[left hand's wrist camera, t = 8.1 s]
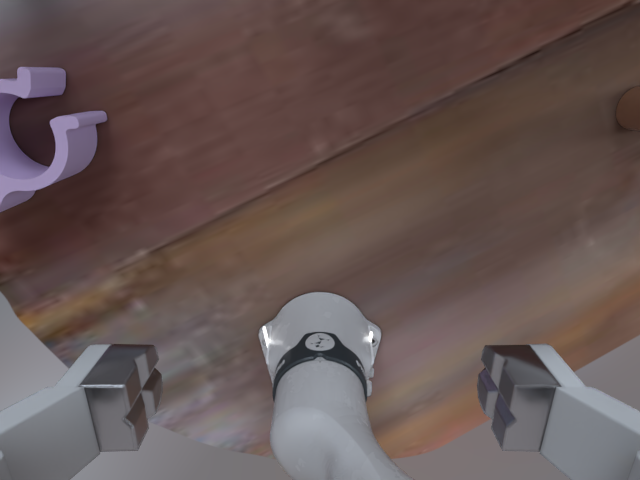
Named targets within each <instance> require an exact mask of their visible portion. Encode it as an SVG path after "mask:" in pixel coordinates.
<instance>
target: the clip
mask: <svg viewBox="0 0 640 480" xmlns="http://www.w3.org/2000/svg"><path fill="white" fill-rule="evenodd" d="M65 87H66V72H65V70H64V69H62V68H51V67H19V68H18V70H17V79H0V212H2V211H5V210H7V209H9V208H11V207H14V206H16V205H18V204H20V203H23V202H25V201H27V200H29V199H30V198H31V197H32V196H33V195H34V193H35V191H36V190H38V189H41V188H44V187H46V186H49V185H51V184H53V183H56V182H58V181H61V180H63V179H65V178H68V177H70V176H73V175H75V174H77V173H79V172H81V171H82V170H83V169H85V168H86V167H87V166H88V165H89V163H90V162H91V160H92V159H93V157H94V154H95V151H96V147H97V130H96V124H98V123H102V122H105V121H106V120H107V115H106V113H105V112H104V111H88V112H82V113H76V114H70V115H64V116H59V117H56V118H54V119H52V120H51V121H50V126H51V128H52V130H53V133H54V137H55V142H56V151H55V157H54V160H53V162H52V164H51V166H50V167H48V166H44V165H41V164H39V163H37V162H35V161H33V160H32V159H30V158H29V157H28V156H27V155H25V154H24V153H23V152H22V151H21V149H20V148H19V147H18V145H17V144H16V142H15V141H14V139H13V136H12V134H11V131H10V126H9V114H10V110H11V107H12V105H13V104H14V102H15V101H16V100H17V98H19V97H21V98H34V97H45V96H56V95H62V94H63V92H64V90H65Z"/></svg>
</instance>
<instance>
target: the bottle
mask: <svg viewBox="0 0 640 480" xmlns="http://www.w3.org/2000/svg"><path fill="white" fill-rule="evenodd" d="M616 118H617V121H618V123H619V124H620V125H621V126H622V127H623V128H625V129H628V130H633V131H638V132H640V86H636V87H634V88H632V89H630V90H629V91H627V92H626V93H625V94H624V95H623V96H622V98H621V99H620V101H619V103H618V105H617V108H616Z"/></svg>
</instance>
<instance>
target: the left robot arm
mask: <svg viewBox="0 0 640 480" xmlns="http://www.w3.org/2000/svg"><path fill="white" fill-rule="evenodd" d="M259 339H260V343H261V346H262V350H263V353H264V356H265V360H266V364H267V367H268V370H269V373H270V377H271V380H272V384H273V385H272V387H273V400H274V409H273V417H272V424H271V432H270V443H271V448H272V451H273V454H274V456H275V458H276V460H277V462H278V463H279V465H280V466H281V468H282V469H283V470H284V472H285V473H286V474H287V475H288V476H289V477H290V478H291V479H292V480H414V479H413V478H412V477H410V476H409V475H408V474H406V473H405V472H404V471H403V470H402V469H401V468H399V467H398V466H397V465H396V464H395V463H394V462H393V461H392V460H391V459H390V457H389V456H388V455H387V454H386V453H385V452H384V450H383V449H382V448H381V447H380V445H379V444H378V442H377V440H376V439H375V437H374V435H373V432H372V429H371V425H370V421H369V417H368V413H367V407H366V400H367V396H368V397H369V396H371V392H372V382H371V381H369V377H370V378H373V375H374V368H372V367H373V364H374V360H375V356H376V353H377V350H378V346H379V343H380V339H381V330H380V328H379V327H378V326H376V325H375V324H373V323H372V322H370V321H368V320H367V319H366V318H365V317H364V316H363V315H362V313H361V312H360V310H359V309H358V308H357V307H356V306H355V305H354V304H353V303H352V302H350V301H349V300H347V299H345V298H344V297H341V296H339V295H336V294H332V293H327V292H314V293H308V294H304V295H301V296H299V297H296V298H295V299H293V300H291V301H290V302H288V303H287V304H286V305H285V306H284V307H283V308H282V309H281V310H280V312H279V313H278V315H277V316H276V317H275V318H274V319H273V320H272V321H270V322H268V323H267V324H265V325H264V326H262V327H261V328H260V330H259ZM268 339H269V340H268ZM372 339H373V341H372ZM158 360H159V357H158V352H157V348H156V347H155V346H154V345H134V344H93V345H90V346H88V347H87V349H86V350H85V351H84V352H83V353H82V354H81V356H80V357H79V358H78V359H77V360H76V361H75V363H74V364H73V365H72V366H71V367H70V368H69V370H68V371H67V372H66V373H65V374H64V376H63V377H62V378H61V379H60V380H59V381H58V383H57V384H56V385H55V386H54V387H46V388H44V389H42V390H40V391H38V392H36V393H34V394H33V395H31V396H29V397H27V398H25V399H23V400H21V401H19V402H17V403H15V404H13V405H11V406H9V407H7V408H5V409H3V410H1V411H0V480H70V479H71V478H72V477H73V476H75V475H76V474H77V473H78V472H79V471H81V470H82V469H83V468H84V467H85V466H86V465H88V464H89V463H90V462H91V461H92V460H93V459H95V458H96V457H97V456H98V455H99V454H100V452H109V451H138V449H139V447H140V445H141V443H142V441H143V439H144V437H145V435H146V433H147V431H148V429H149V426H148V419H149V418H150V417H152V416H153V415H155V414H156V412H157V410H158V408H159V405H160V402H161V397H162V393H163V382H162V375H161V373H160V372H159V371H158V370H157V369H156V368H155V366H156V364H157V362H158ZM481 360H482V362H483V364H484V366H485V368H484V369H483V370H482V371H481V372H480V373H479V375H478V383H477V390H478V398H479V402H480V406H481V408H482V410H483V412H484V414H485V415H487V416H488V417H490V418H491V419H492V426H491V429H492V431H493V433H494V435H495V437H496V439H497V441H498V443H499V445H500V447H501V449H502V451H530V452H540V454H541V455H542V456H543V457H544V458H546V459H547V460H548V461H549V462H550V463H551V464H553V465H554V466H555V467H556V468H557V469H558V470H560V471H561V472H562V473H563V474H564V475H565V476H567V477H568V478H569V479H570V480H640V411H638V410H637V409H635V408H633V407H631V406H629V405H627V404H625V403H623V402H621V401H619V400H617V399H615V398H613V397H611V396H609V395H607V394H606V393H604V392H602V391H600V390H598V389H596V388H594V387H586V386H585V385H584V384H583V383H582V381H581V380H580V379H579V378H578V377H577V376H576V374H575V373H574V372H573V371H572V370H571V369H570V367H569V366H568V365H567V364H566V363H565V361H564V360H563V359H562V358H561V357H560V356H559V354H558V353H557V352H556V351H555V350H554V349H553V347H552V346H550V345H548V344H526V345H485V347H484V349H483V351H482V357H481Z"/></svg>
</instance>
